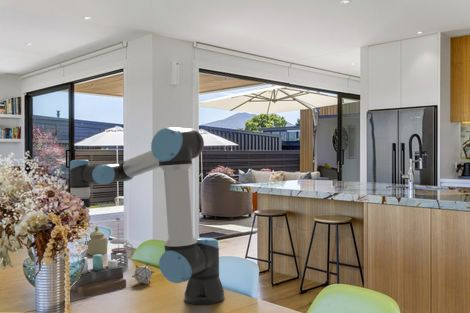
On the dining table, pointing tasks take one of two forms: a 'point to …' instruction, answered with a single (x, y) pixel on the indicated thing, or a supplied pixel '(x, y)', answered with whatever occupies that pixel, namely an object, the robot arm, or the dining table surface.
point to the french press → (120, 250)
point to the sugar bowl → (97, 243)
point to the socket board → (100, 281)
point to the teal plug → (97, 262)
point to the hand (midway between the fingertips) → (82, 255)
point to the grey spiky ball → (143, 274)
